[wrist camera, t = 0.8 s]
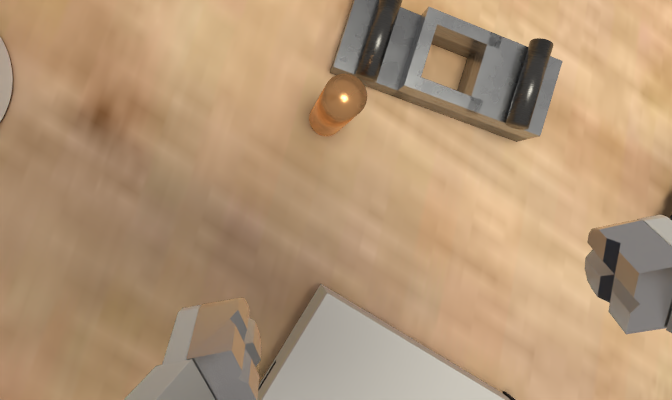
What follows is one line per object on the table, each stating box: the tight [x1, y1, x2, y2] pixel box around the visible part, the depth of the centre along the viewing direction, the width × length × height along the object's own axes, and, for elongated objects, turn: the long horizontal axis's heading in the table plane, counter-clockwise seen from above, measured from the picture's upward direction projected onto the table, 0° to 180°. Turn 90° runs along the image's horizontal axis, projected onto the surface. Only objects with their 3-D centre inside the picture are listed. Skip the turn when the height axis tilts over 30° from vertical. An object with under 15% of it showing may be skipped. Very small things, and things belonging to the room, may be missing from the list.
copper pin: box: [309, 74, 367, 136], centre depth 39 cm, size 3×3×10 cm
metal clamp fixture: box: [330, 0, 562, 142], centre depth 42 cm, size 20×8×6 cm, turn 72°
